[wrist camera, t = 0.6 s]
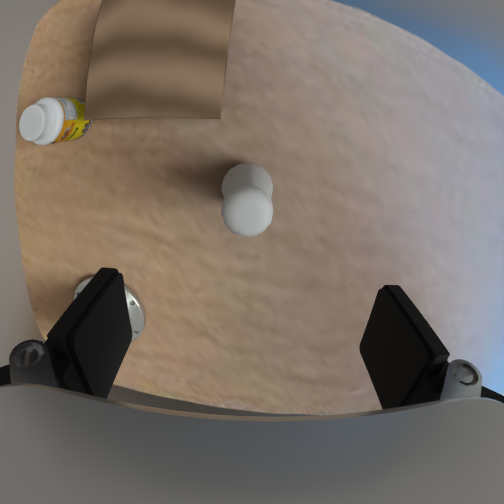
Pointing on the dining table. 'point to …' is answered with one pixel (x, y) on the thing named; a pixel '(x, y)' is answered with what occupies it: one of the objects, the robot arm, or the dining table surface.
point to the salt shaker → (247, 199)
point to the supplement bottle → (54, 120)
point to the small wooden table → (159, 59)
